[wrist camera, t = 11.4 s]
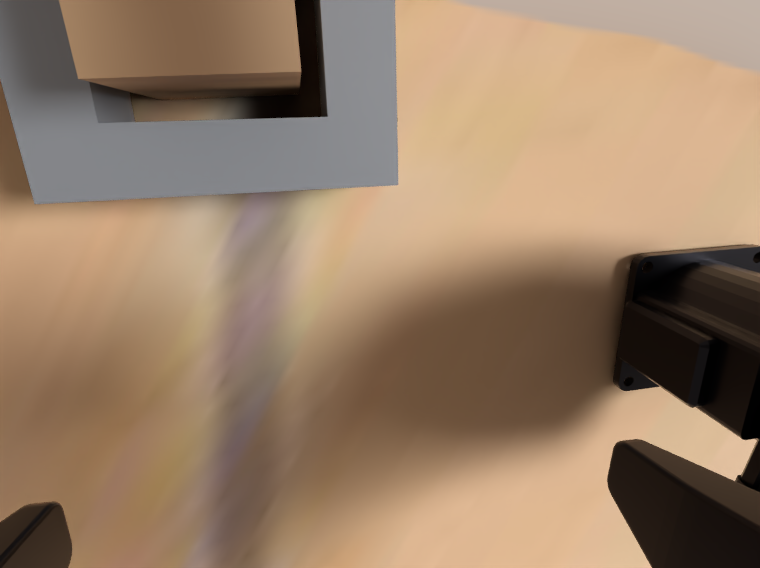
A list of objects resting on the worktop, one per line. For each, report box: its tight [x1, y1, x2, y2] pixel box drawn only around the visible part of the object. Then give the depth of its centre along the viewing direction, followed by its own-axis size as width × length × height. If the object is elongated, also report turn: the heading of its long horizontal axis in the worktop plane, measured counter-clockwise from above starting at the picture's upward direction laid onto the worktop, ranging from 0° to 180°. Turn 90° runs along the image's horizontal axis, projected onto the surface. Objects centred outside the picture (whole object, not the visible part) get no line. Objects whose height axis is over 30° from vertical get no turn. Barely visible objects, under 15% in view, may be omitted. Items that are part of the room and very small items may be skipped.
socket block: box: [0, 0, 398, 204], centre depth 13 cm, size 10×10×3 cm
